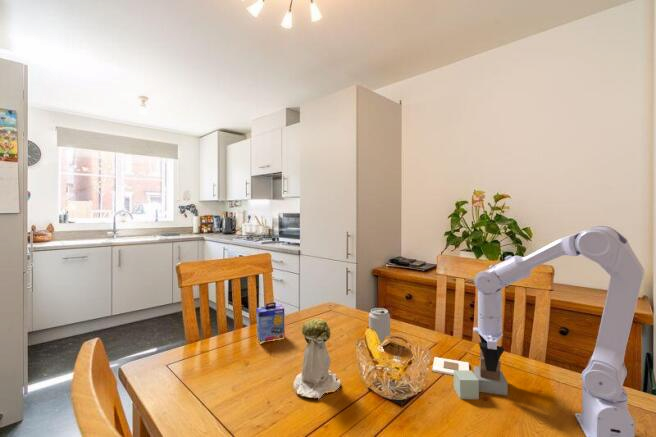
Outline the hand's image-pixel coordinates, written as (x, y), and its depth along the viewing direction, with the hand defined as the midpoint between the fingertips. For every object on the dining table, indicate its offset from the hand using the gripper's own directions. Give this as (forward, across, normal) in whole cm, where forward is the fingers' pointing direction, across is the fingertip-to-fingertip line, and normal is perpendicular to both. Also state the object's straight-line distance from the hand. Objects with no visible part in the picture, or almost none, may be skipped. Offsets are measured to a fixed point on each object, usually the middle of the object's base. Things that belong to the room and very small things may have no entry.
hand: (489, 363), depth 84 cm
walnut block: (+3, 0, 0) cm, 3 cm away
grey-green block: (+6, +6, -6) cm, 11 cm away
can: (+6, -15, -34) cm, 38 cm away
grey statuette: (+6, +17, -44) cm, 48 cm away
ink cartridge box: (+6, -4, -73) cm, 73 cm away
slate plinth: (+6, 0, 0) cm, 6 cm away
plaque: (+6, -6, -10) cm, 13 cm away
